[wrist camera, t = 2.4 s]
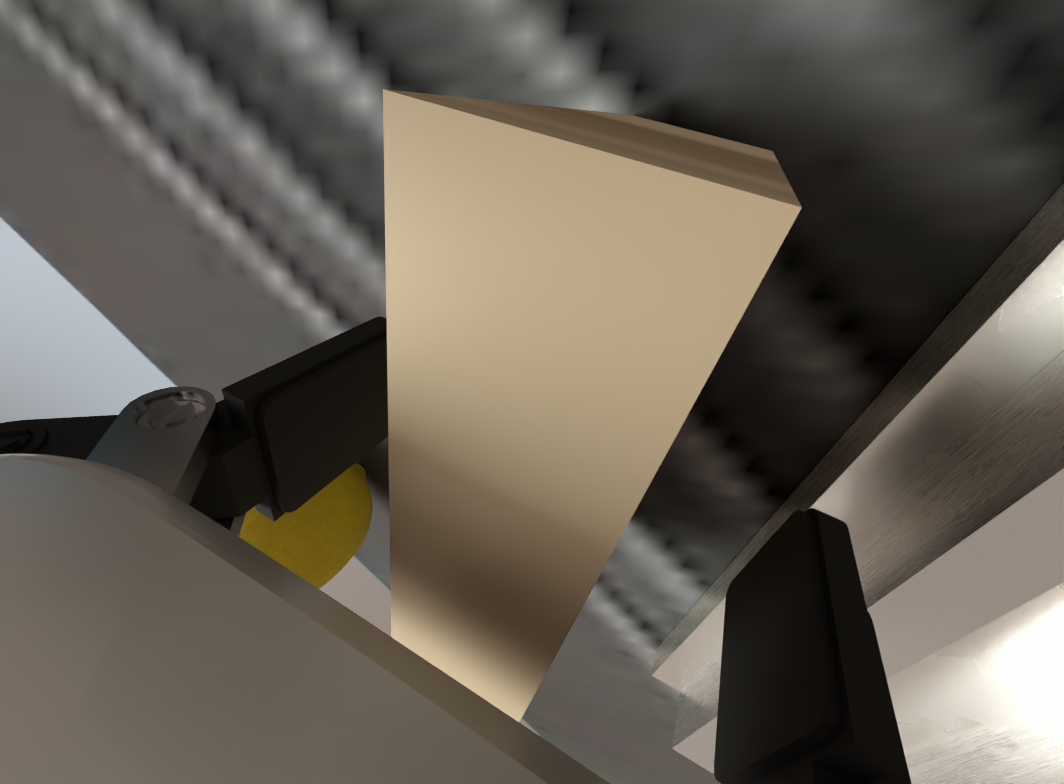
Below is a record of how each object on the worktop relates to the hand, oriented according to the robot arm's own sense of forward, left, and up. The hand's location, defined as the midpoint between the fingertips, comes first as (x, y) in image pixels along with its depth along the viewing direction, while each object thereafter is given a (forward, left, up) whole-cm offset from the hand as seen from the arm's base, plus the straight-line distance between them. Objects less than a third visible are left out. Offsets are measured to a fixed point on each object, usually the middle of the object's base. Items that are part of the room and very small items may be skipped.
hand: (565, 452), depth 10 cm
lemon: (+11, -10, -4) cm, 15 cm away
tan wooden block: (0, 0, -4) cm, 4 cm away
